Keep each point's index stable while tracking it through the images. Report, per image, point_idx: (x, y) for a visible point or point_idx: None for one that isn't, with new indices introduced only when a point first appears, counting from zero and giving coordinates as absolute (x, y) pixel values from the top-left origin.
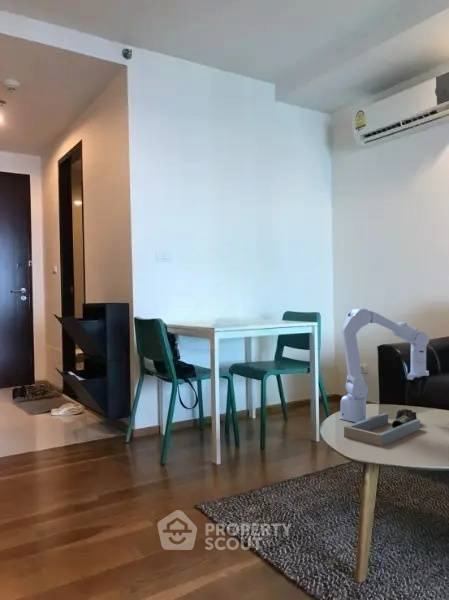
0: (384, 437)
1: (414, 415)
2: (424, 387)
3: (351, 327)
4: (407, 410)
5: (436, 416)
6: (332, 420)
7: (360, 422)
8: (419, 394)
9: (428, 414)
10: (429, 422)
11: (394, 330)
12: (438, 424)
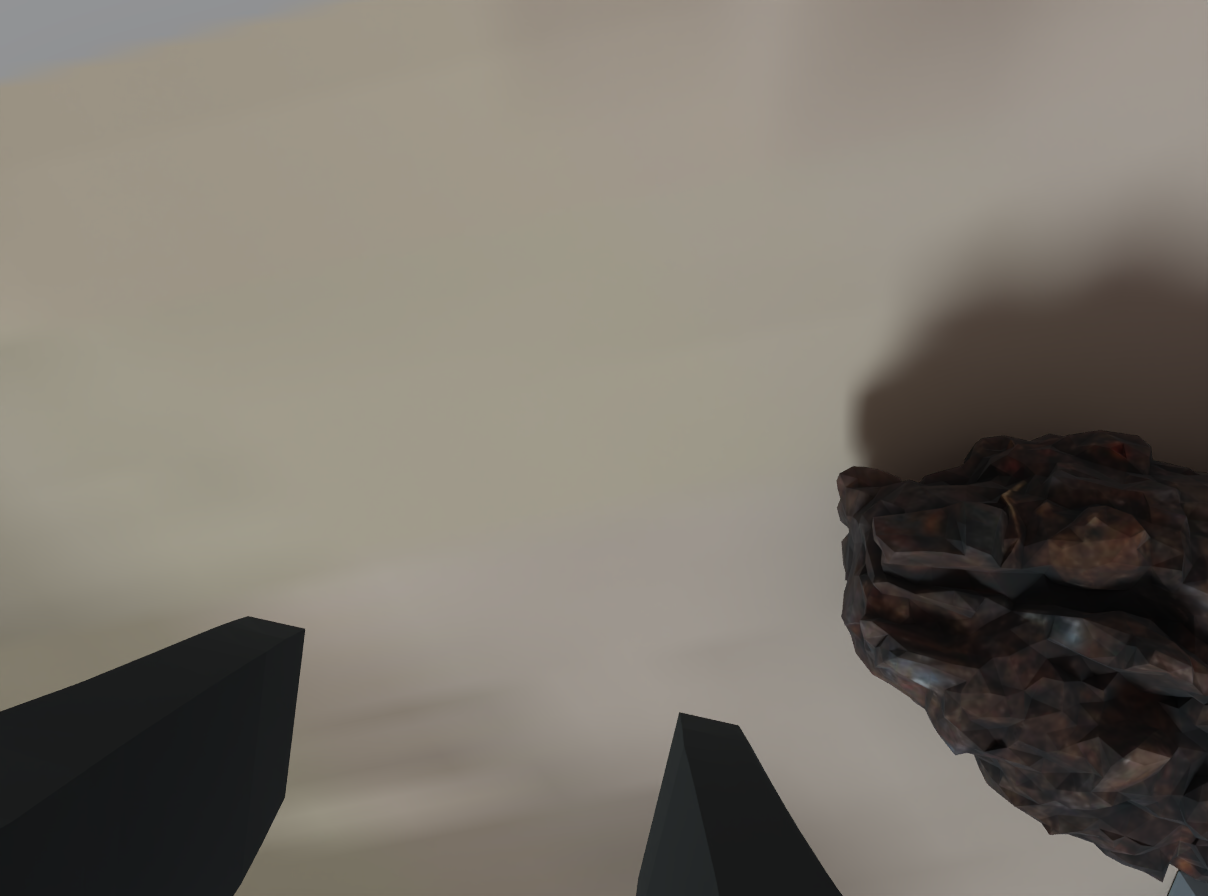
0: None
1: (1183, 503)
2: (108, 754)
3: None
4: (1110, 719)
5: (107, 211)
6: None
7: None
8: (287, 749)
9: (60, 388)
10: (709, 223)
11: None
12: (771, 12)
